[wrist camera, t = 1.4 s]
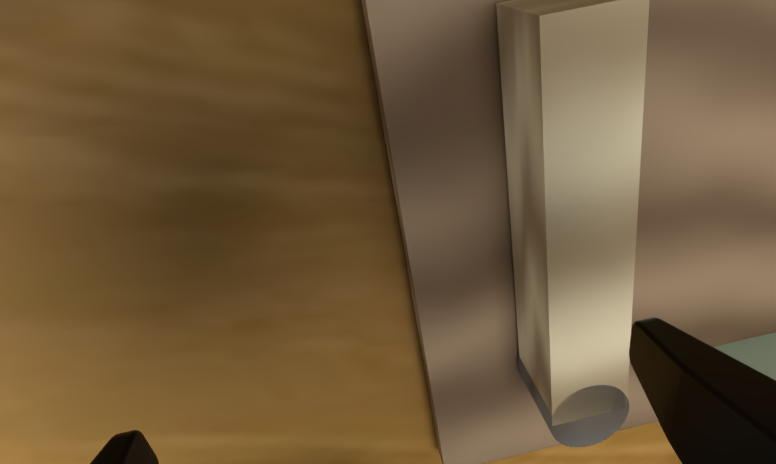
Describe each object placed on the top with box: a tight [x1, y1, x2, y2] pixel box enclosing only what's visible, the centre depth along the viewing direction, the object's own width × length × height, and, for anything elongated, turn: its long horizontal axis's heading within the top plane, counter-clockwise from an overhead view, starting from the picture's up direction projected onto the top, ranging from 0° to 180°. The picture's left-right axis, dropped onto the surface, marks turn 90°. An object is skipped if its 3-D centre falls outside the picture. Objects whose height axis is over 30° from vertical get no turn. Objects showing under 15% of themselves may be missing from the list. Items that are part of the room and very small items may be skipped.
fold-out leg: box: [496, 0, 650, 447], centre depth 20 cm, size 17×3×4 cm, turn 9°
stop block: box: [714, 332, 776, 380], centre depth 26 cm, size 3×8×3 cm, turn 99°
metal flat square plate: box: [361, 0, 776, 464], centre depth 24 cm, size 22×21×2 cm
